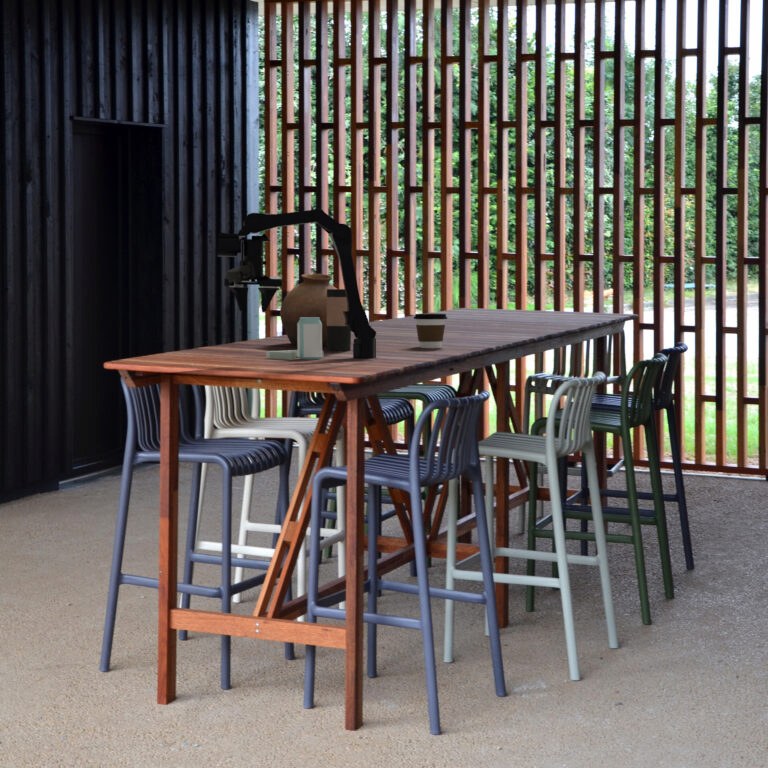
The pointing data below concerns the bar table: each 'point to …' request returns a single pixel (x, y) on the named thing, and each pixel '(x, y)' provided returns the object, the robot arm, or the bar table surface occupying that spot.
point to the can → (309, 338)
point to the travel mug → (337, 321)
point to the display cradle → (284, 354)
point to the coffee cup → (430, 329)
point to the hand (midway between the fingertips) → (252, 311)
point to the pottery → (306, 304)
